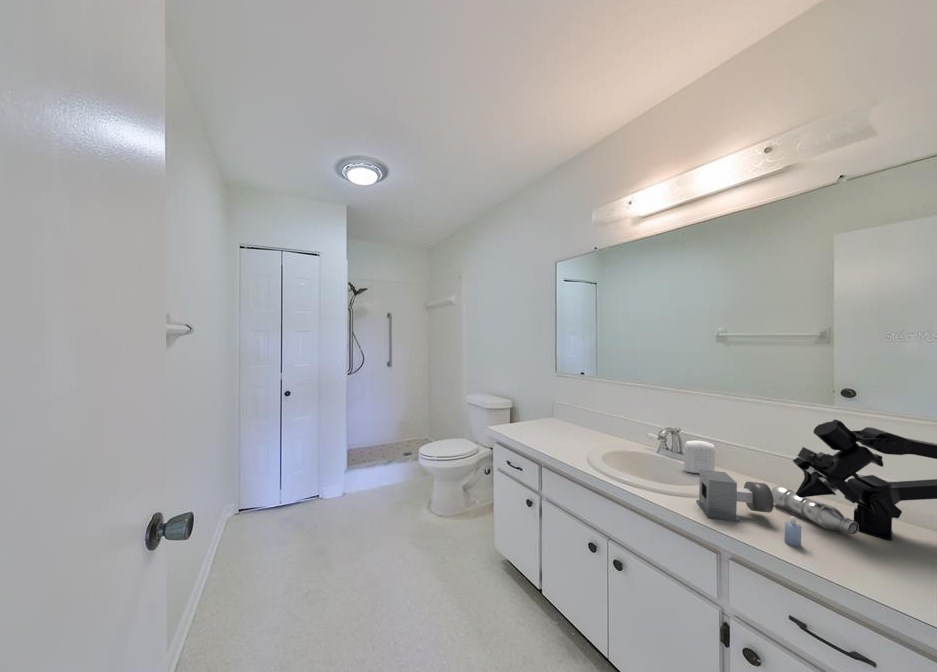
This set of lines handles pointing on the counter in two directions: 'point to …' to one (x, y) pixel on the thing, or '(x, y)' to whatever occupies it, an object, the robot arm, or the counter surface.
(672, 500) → the counter surface
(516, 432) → the counter surface
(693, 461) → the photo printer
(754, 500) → the knob
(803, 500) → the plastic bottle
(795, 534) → the small blue bottle
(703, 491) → the mount
